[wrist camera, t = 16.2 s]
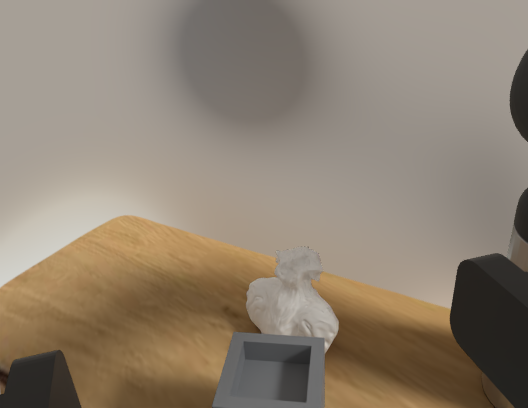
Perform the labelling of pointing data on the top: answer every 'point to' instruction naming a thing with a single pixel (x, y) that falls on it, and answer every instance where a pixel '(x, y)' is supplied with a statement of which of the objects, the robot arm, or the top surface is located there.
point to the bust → (292, 299)
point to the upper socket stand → (272, 372)
